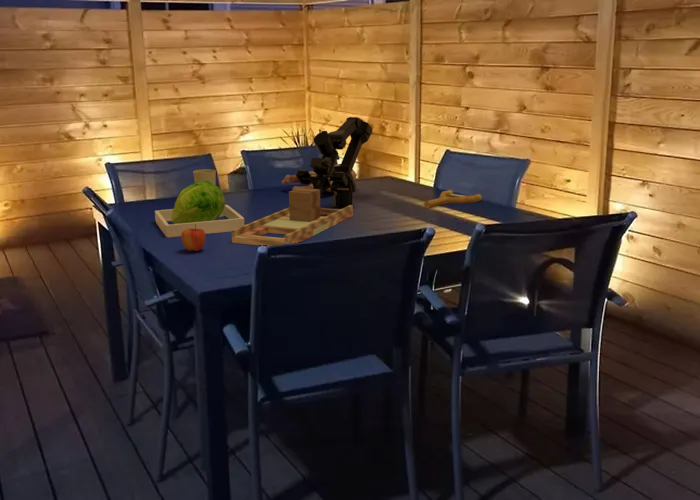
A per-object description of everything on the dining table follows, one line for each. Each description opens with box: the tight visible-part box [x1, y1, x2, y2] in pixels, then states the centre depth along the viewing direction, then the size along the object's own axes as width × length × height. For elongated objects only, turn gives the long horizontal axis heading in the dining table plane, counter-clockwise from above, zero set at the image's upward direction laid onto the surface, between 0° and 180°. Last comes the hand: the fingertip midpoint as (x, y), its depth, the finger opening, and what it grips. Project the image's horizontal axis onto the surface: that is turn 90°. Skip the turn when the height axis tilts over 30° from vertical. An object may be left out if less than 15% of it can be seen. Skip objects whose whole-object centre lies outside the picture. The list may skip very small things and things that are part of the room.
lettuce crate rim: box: [154, 204, 245, 238], centre depth 269 cm, size 26×26×4 cm
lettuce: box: [171, 181, 226, 224], centre depth 269 cm, size 17×20×17 cm
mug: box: [192, 168, 217, 186], centre depth 315 cm, size 11×10×12 cm
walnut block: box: [288, 188, 321, 222], centre depth 268 cm, size 8×8×10 cm
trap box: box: [231, 204, 354, 247], centre depth 264 cm, size 51×20×4 cm, turn 157°
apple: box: [180, 224, 207, 252], centre depth 235 cm, size 7×7×8 cm
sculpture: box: [281, 163, 357, 194], centre depth 330 cm, size 12×26×30 cm
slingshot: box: [423, 189, 483, 209], centre depth 305 cm, size 18×3×25 cm
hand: (315, 197), depth 275 cm, fingers closed
